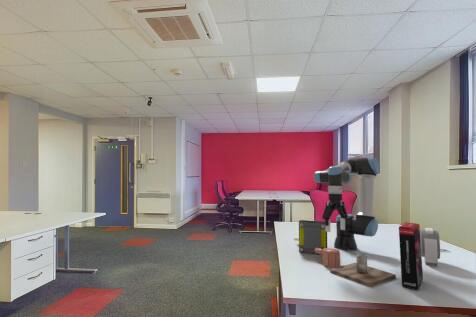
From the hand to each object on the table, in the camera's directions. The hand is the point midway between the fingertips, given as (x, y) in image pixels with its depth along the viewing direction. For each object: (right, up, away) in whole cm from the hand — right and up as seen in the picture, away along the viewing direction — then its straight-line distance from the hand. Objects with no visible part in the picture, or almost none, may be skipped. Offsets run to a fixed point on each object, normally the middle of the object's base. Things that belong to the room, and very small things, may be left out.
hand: (335, 230), depth 152 cm
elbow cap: (-4, -19, +2) cm, 20 cm away
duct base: (+8, -18, -17) cm, 26 cm away
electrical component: (-6, -21, +25) cm, 33 cm away
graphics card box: (+26, -18, -27) cm, 42 cm away
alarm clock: (+57, -20, +3) cm, 60 cm away
